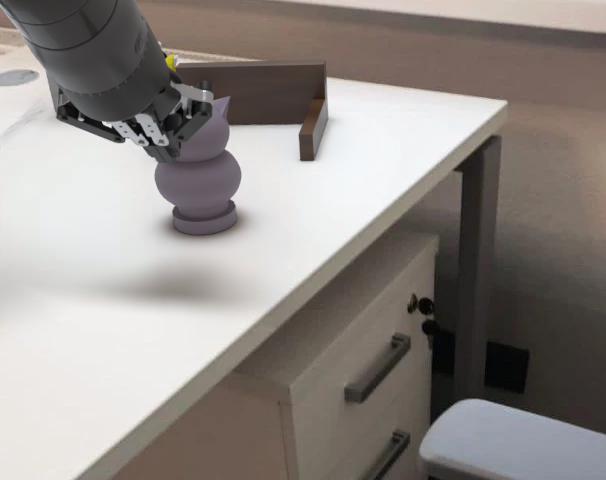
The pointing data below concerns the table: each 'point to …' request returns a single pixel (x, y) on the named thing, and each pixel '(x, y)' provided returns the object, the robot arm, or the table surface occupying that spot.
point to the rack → (269, 94)
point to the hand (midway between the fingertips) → (168, 152)
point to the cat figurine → (202, 178)
